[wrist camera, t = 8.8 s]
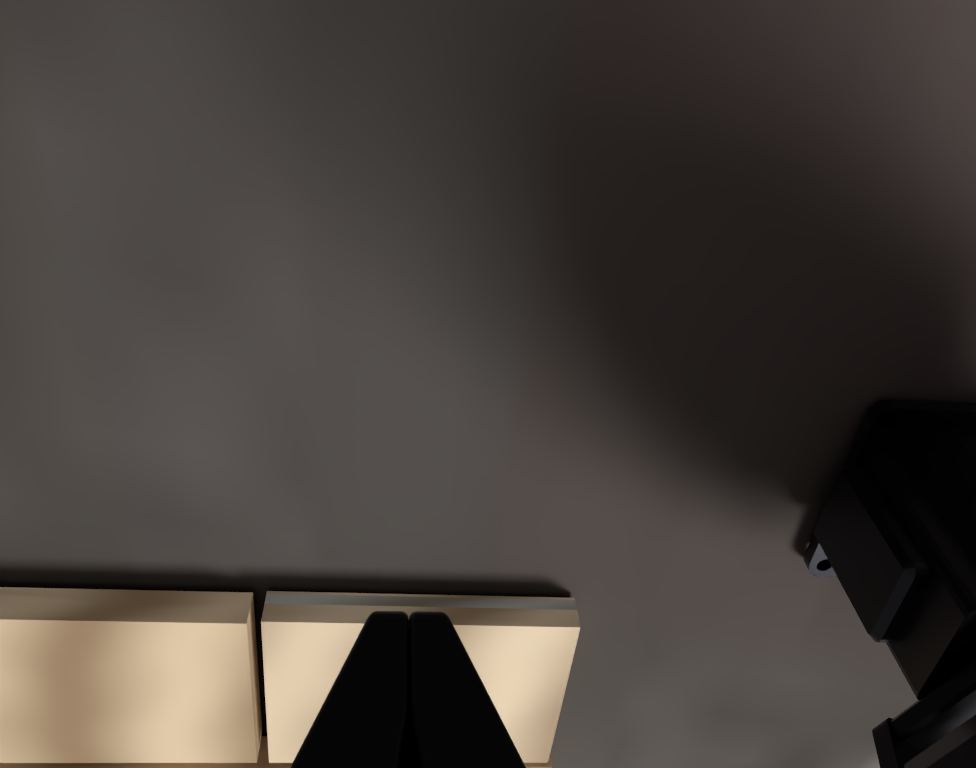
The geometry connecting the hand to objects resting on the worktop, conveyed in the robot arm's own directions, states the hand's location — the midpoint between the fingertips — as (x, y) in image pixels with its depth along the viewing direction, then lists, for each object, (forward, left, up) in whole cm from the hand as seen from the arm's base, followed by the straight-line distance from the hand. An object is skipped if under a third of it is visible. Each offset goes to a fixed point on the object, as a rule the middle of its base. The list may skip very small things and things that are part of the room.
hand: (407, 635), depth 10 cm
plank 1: (+9, +16, -12) cm, 22 cm away
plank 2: (-1, +16, -12) cm, 20 cm away
